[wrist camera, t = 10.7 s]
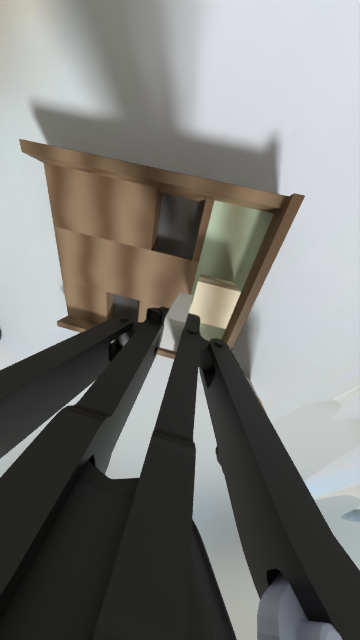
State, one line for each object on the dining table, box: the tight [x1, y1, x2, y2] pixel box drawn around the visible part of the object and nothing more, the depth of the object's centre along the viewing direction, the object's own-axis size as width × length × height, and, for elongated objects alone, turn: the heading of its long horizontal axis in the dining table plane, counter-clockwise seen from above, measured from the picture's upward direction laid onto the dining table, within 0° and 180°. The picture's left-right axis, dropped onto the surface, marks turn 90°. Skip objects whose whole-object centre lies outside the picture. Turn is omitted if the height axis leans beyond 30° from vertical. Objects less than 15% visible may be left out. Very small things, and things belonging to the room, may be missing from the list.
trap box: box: [19, 139, 305, 359], centre depth 23 cm, size 30×24×6 cm
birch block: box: [190, 274, 241, 329], centre depth 20 cm, size 5×5×5 cm
